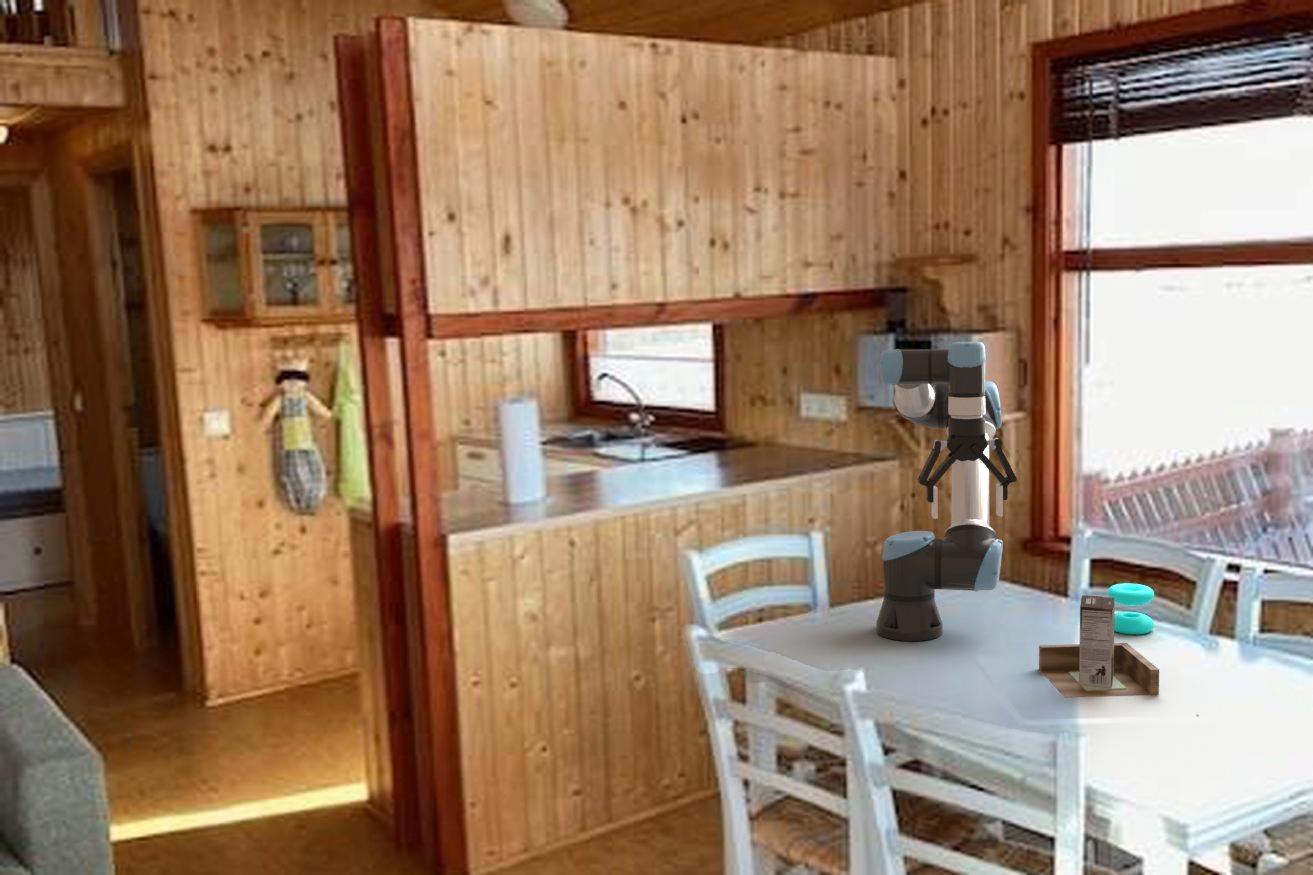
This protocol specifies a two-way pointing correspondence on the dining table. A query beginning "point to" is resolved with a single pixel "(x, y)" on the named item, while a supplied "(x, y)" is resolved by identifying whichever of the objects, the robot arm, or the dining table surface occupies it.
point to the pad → (1115, 686)
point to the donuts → (1131, 597)
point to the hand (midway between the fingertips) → (967, 516)
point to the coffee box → (1096, 641)
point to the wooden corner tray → (1127, 670)
